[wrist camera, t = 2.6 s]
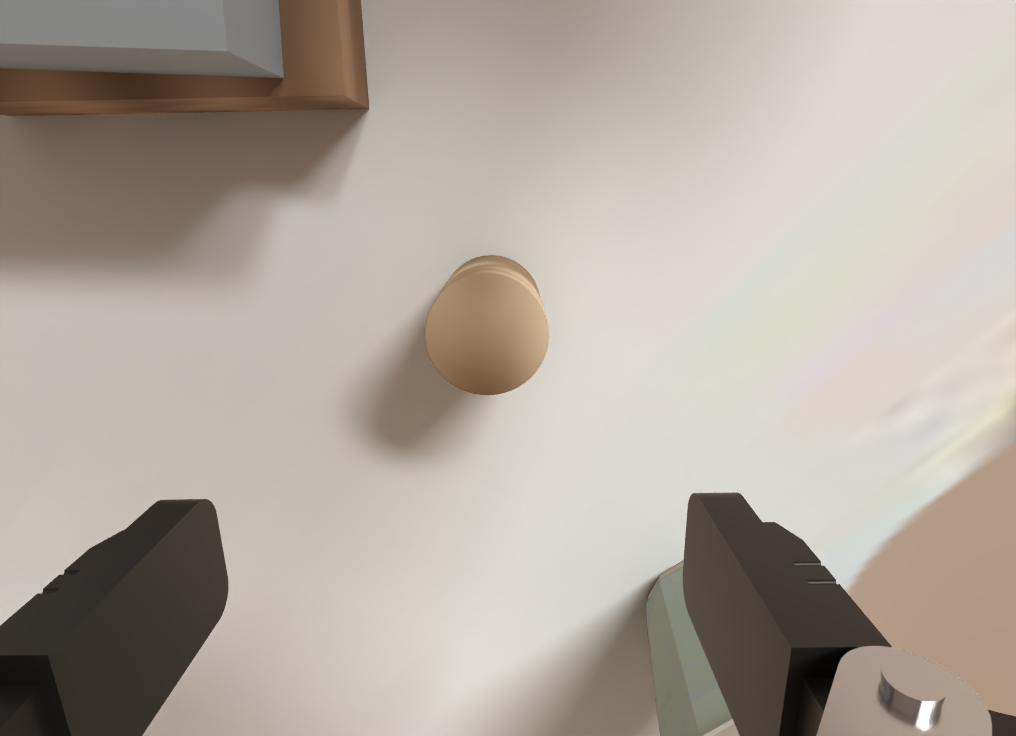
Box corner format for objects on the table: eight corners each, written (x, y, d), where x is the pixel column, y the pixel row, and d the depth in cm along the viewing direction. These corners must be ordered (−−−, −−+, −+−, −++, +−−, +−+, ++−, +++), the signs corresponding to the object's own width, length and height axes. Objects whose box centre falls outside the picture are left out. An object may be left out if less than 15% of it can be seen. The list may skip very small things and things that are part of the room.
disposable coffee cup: (595, 658, 38) (649, 952, 23) (630, 506, 34) (717, 735, 20) (761, 678, 38) (915, 978, 24) (810, 530, 35) (1021, 771, 21)
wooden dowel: (539, 254, 30) (548, 273, 24) (540, 350, 32) (548, 393, 25) (440, 256, 30) (421, 275, 24) (445, 351, 32) (428, 395, 25)
